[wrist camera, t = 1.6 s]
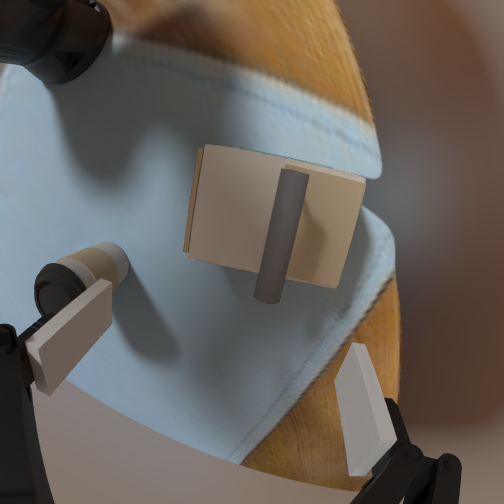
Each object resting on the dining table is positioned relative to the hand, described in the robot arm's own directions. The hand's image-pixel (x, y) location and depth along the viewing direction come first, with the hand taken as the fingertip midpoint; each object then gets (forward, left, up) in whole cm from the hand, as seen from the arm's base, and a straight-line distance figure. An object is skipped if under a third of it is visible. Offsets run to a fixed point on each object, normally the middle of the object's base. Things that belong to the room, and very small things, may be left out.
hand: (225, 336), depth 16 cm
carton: (-3, +1, -26) cm, 26 cm away
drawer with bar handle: (-3, +5, -17) cm, 18 cm away
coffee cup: (+11, -21, -26) cm, 35 cm away
